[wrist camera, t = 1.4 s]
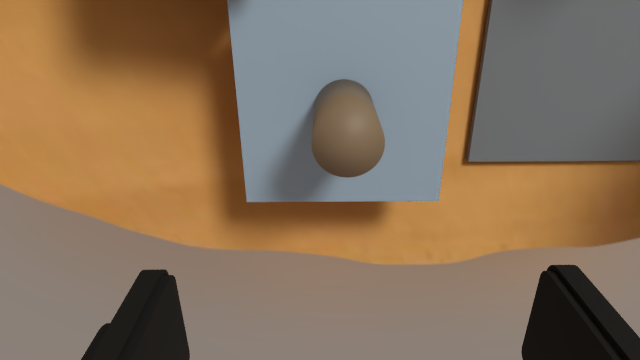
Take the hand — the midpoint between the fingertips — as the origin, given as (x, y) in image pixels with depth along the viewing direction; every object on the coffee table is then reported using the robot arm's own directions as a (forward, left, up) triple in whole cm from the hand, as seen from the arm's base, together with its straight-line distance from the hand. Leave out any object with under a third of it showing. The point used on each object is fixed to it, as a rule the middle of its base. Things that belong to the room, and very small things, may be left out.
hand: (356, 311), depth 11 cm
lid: (0, 0, -18) cm, 18 cm away
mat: (-17, -1, -23) cm, 29 cm away
